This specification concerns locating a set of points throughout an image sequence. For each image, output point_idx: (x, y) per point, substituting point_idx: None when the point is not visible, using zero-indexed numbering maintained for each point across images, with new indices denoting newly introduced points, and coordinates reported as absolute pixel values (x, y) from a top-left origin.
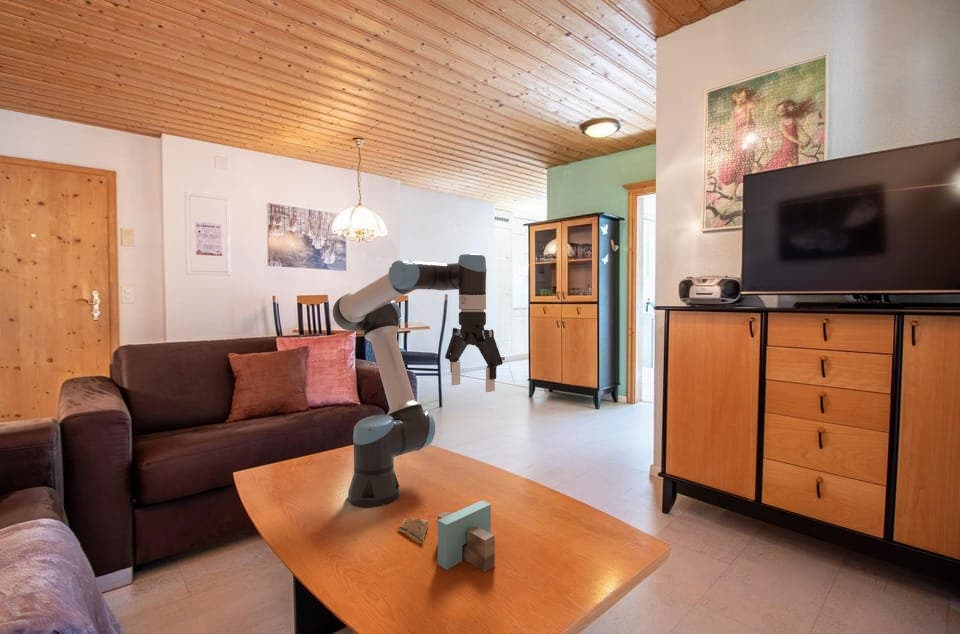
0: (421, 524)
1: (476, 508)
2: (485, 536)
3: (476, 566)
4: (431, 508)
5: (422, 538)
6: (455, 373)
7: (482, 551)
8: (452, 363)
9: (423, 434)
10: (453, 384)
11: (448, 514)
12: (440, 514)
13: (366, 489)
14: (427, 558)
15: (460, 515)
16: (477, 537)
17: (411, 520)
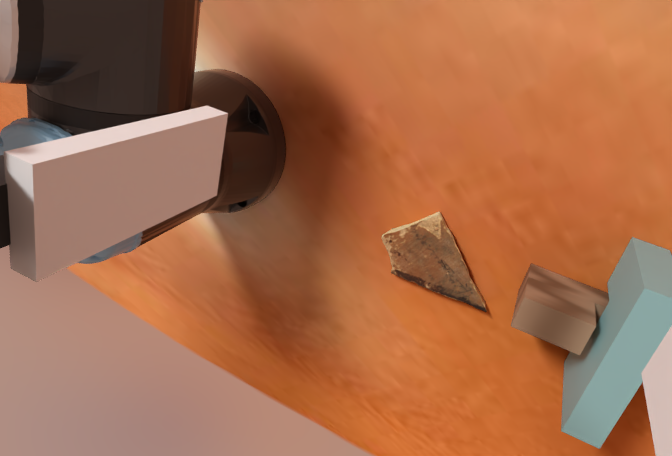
0: (437, 246)
1: (649, 345)
2: None
3: None
4: (397, 130)
5: (477, 299)
6: (145, 201)
7: None
8: (37, 271)
9: (177, 13)
10: (213, 196)
11: (538, 313)
12: (516, 320)
13: (224, 206)
14: (528, 348)
15: (616, 396)
16: None
17: (402, 240)
